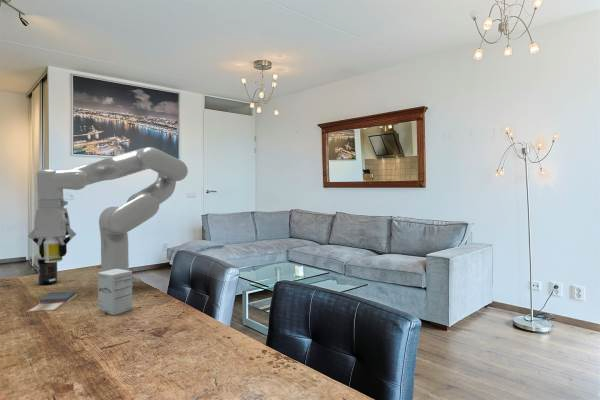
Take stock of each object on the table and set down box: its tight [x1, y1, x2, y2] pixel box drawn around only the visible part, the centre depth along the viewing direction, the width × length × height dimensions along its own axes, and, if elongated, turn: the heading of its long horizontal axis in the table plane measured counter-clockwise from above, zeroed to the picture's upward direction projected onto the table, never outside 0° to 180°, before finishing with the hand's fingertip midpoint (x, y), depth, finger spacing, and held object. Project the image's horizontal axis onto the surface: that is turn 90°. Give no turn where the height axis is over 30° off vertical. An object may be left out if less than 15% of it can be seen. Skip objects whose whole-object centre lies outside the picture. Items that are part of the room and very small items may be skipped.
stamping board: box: [23, 294, 77, 314], centre depth 128 cm, size 9×18×1 cm, turn 12°
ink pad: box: [39, 291, 76, 303], centre depth 133 cm, size 8×8×1 cm
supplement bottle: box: [44, 237, 63, 263], centre depth 135 cm, size 5×5×10 cm
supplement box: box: [97, 269, 133, 316], centre depth 123 cm, size 7×7×13 cm
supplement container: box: [37, 256, 59, 286], centre depth 157 cm, size 7×7×10 cm
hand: (53, 255), depth 136 cm, fingers closed on supplement bottle, 5 cm apart
